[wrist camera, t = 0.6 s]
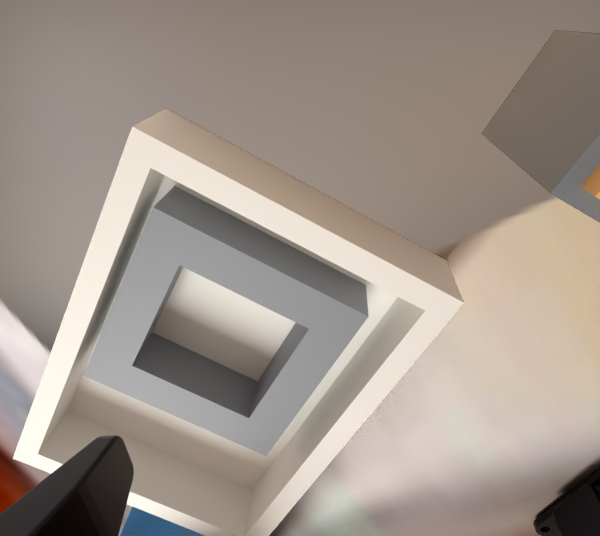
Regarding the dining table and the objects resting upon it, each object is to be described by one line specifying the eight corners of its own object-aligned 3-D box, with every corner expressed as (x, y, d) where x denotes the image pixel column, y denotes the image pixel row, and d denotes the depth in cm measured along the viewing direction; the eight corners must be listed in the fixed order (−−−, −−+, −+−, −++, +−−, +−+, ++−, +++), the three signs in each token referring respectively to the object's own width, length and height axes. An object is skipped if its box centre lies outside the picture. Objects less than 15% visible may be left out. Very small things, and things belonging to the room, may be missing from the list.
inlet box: (446, 260, 21) (463, 302, 18) (262, 496, 29) (252, 554, 26) (166, 108, 19) (132, 126, 16) (51, 407, 27) (12, 458, 24)
